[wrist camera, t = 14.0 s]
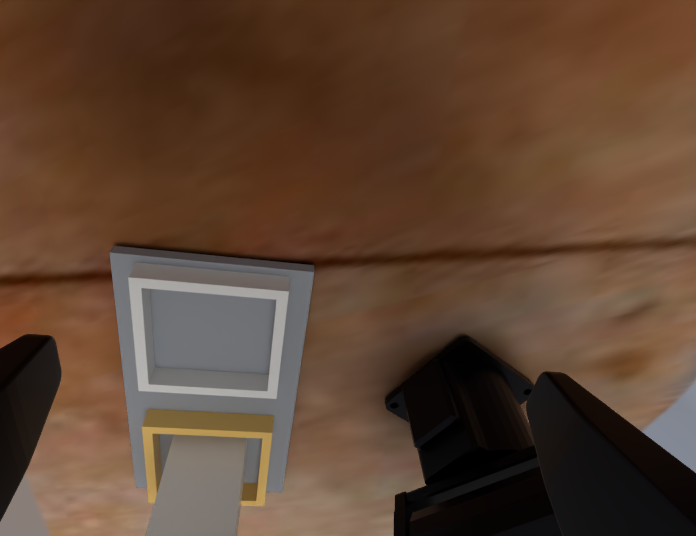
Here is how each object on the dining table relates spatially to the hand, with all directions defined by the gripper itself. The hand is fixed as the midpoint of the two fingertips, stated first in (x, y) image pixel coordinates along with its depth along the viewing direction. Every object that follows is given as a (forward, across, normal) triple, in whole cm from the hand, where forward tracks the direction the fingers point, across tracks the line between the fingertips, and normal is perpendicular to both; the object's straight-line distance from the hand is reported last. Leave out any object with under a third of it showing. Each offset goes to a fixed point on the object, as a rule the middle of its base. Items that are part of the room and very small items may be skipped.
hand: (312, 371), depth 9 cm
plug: (+12, +4, +19) cm, 23 cm away
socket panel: (+13, +4, +14) cm, 20 cm away
